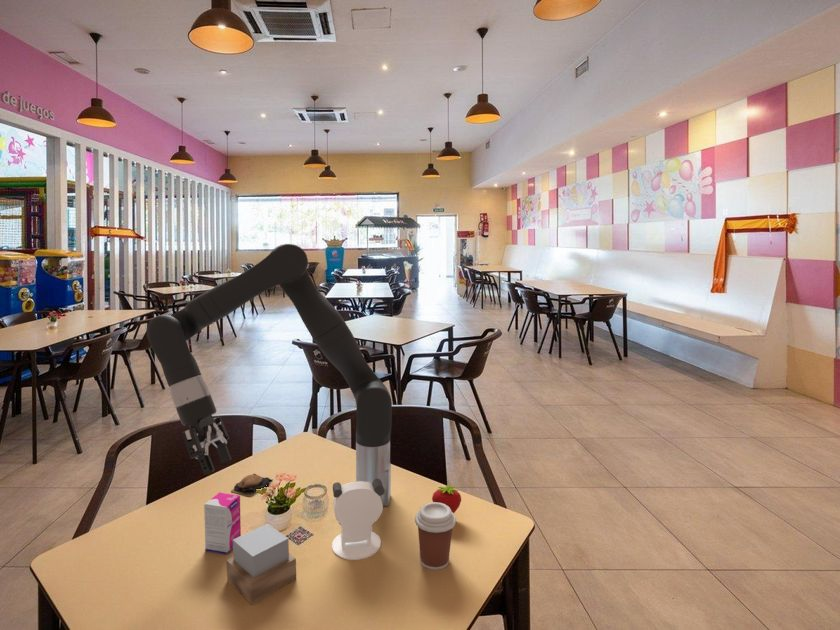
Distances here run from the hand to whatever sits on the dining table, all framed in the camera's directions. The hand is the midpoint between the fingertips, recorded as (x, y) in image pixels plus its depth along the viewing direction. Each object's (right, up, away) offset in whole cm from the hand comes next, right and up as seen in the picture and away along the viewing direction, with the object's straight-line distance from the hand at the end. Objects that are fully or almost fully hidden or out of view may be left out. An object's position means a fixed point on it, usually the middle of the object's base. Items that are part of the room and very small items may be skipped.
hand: (218, 466), depth 107 cm
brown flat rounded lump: (-3, -16, +31) cm, 36 cm away
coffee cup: (+49, -21, -1) cm, 53 cm away
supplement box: (0, -20, +4) cm, 20 cm away
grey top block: (+12, -17, -8) cm, 22 cm away
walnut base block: (+12, -21, -8) cm, 26 cm away
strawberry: (+52, -19, +16) cm, 58 cm away
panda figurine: (+31, -20, +5) cm, 37 cm away
